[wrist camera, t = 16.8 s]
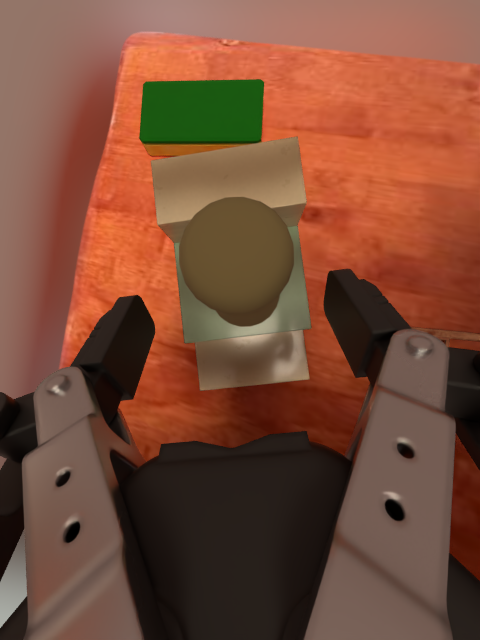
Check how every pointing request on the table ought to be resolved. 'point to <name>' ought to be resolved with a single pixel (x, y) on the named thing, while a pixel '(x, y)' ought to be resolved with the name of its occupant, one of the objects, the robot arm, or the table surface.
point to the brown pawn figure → (237, 259)
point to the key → (450, 335)
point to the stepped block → (292, 309)
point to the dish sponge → (200, 115)
